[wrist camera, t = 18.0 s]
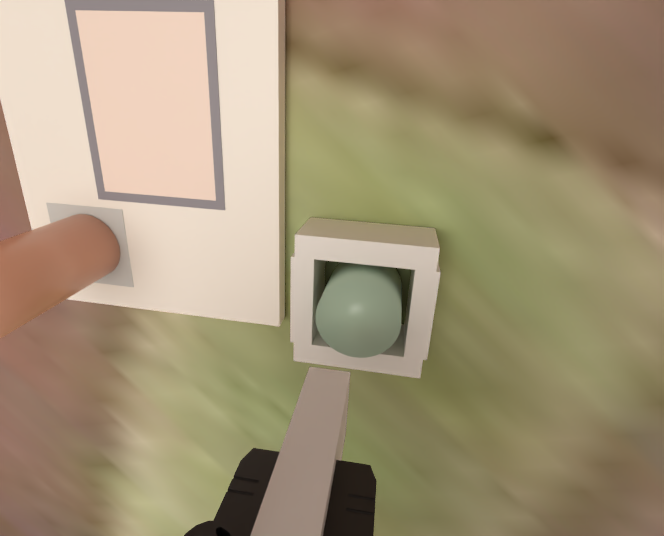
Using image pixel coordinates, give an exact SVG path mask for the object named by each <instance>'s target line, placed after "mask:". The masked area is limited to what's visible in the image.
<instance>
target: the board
mask: <svg viewBox="0 0 664 536" xmlns="http://www.w3.org/2000/svg"><path fill="white" fill-rule="evenodd" d="M0 99H1V103H2V107H3V112H4V116H5V120H6V124H7V128H8V132H9V137H10V141H11V145H12V149H13V153H14V157H15V162H16V166H17V170H18V174H19V178H20V182H21V186H22V191H23V195H24V199H25V203H26V207H27V211H28V216H29V220H30V224H31V228H32V230H33V229H36V228H39V227H42V226H44V225H47V224H50V223H53V222H56V221H58V220H61V219H64V218H67V217H70V216H72V215H76V214H86V215H90V216H93V217H95V218H97V219H99V220H100V221H102V222H103V223H104V224H106V225H107V226H108V227H109V228H110V230H111V231H112V232H113V234H114V235H115V237H116V239H117V241H118V244H119V248H120V260H119V263H118V265H117V267H116V268H115V270H113V271H112V272H111V273H109V274H107V275H106V276H104V277H102V278H101V279H99V280H97V281H96V282H94V283H92V284H91V285H89V286H87V287H86V288H84V289H82V290H81V291H79V292H77V293H76V294H74V295H72V296H71V297H69V298H67V299H69V300H77V301H85V302H93V303H101V304H108V305H116V306H124V307H132V308H140V309H147V310H155V311H163V312H171V313H179V314H186V315H194V316H202V317H210V318H218V319H225V320H233V321H241V322H249V323H257V324H264V325H272V326H280V325H281V323H282V321H283V320H284V318H285V0H0Z"/></svg>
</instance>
